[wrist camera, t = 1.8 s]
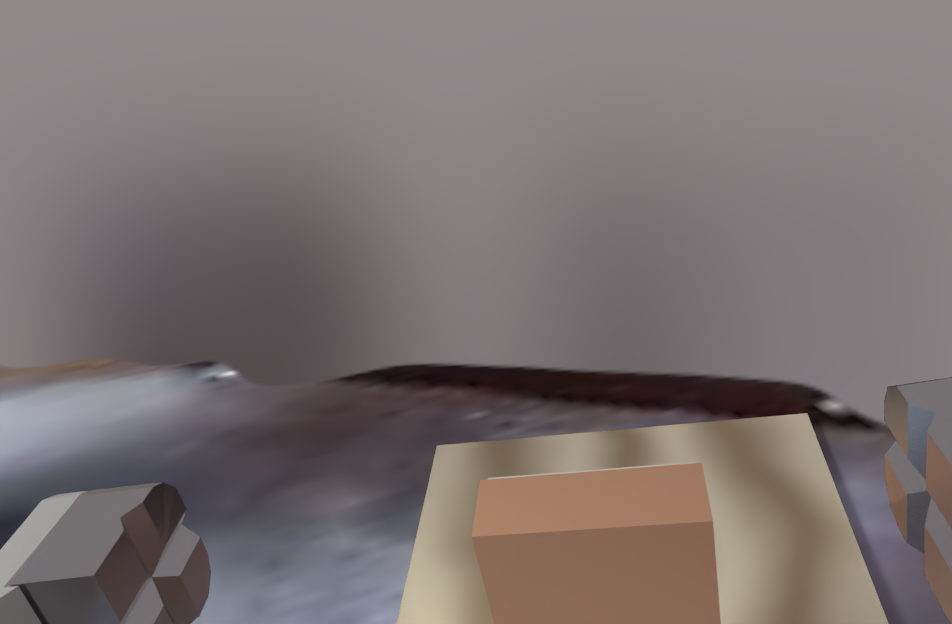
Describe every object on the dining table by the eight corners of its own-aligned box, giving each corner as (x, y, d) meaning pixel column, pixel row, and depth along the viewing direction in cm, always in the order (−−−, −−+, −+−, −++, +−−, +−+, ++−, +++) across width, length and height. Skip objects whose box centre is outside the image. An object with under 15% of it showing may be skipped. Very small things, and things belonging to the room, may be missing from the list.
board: (335, 921, 30) (331, 912, 30) (439, 452, 52) (436, 445, 52) (1004, 936, 26) (1006, 927, 26) (807, 421, 48) (807, 413, 48)
